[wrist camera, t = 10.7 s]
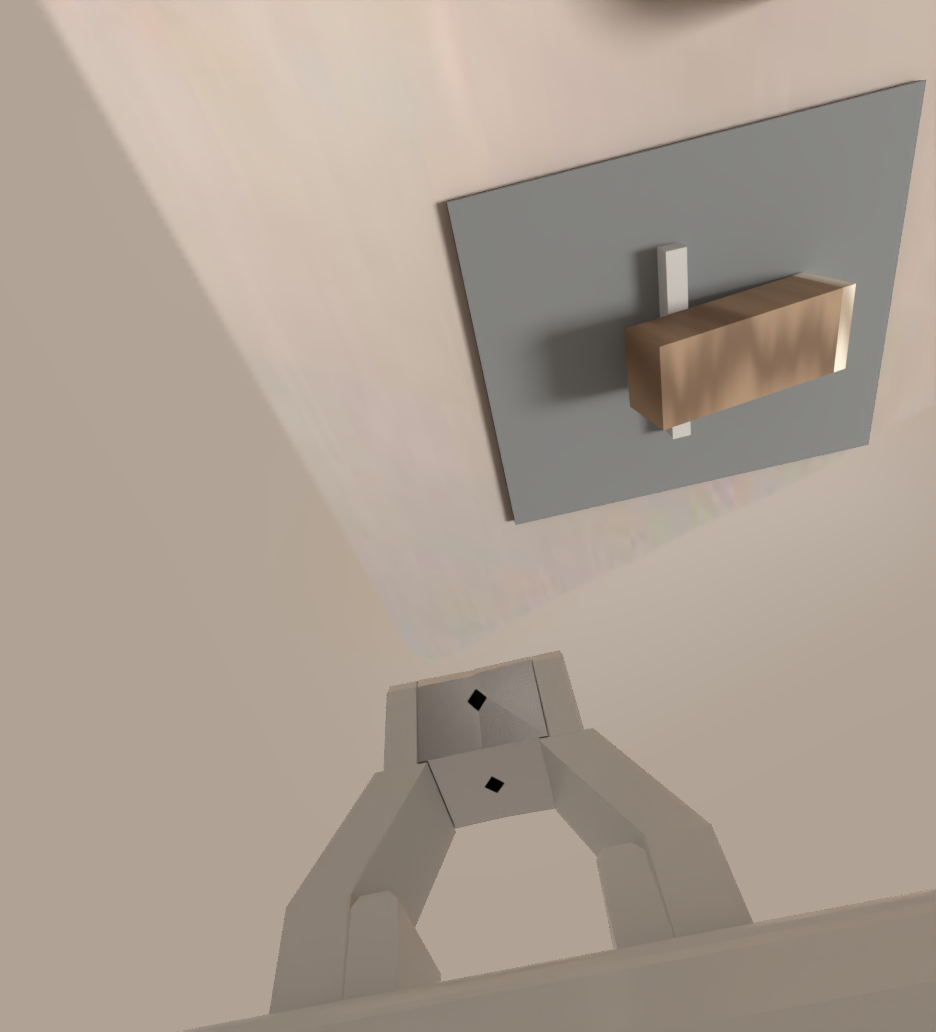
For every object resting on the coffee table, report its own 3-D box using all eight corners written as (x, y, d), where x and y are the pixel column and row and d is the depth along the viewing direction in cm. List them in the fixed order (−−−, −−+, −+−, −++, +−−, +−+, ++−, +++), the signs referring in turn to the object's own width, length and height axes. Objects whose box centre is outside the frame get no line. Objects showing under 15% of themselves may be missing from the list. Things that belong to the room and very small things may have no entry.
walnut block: (659, 347, 33) (855, 283, 34) (623, 329, 36) (804, 271, 38) (663, 430, 36) (845, 368, 37) (629, 406, 39) (797, 350, 40)
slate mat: (446, 201, 34) (448, 206, 33) (918, 80, 33) (946, 78, 31) (514, 520, 46) (518, 536, 45) (863, 440, 45) (881, 454, 43)
